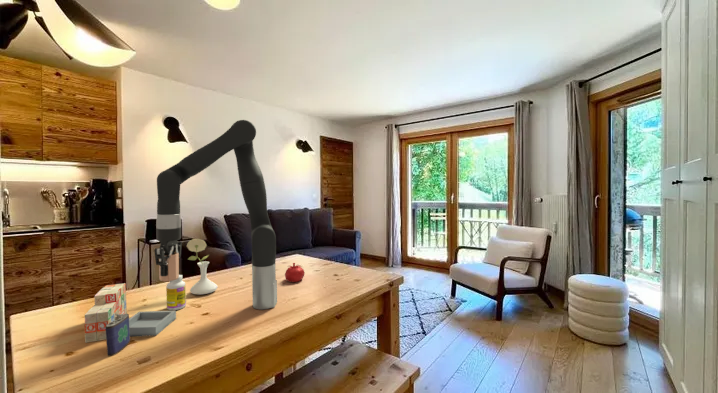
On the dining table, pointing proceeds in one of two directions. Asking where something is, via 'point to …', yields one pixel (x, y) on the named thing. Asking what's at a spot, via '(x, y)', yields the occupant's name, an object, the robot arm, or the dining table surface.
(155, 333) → the tray
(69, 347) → the dining table surface
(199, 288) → the flower in vase
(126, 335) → the flask
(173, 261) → the beaker
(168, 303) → the supplement bottle
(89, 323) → the stack of blocks
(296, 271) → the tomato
